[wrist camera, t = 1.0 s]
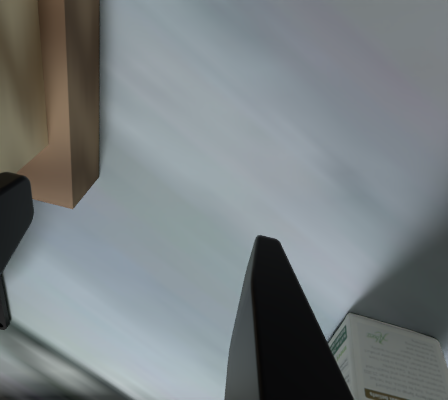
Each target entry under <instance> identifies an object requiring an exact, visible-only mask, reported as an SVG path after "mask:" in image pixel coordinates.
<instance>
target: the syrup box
mask: <svg viewBox="0 0 448 400" xmlns="http://www.w3.org/2000/svg"><path fill="white" fill-rule="evenodd" d="M328 345H329V347H330V349H331V351H332V353H333V356H334V358H335V360H336V362H337V364H338V366H339V368H340V370H341V373H342V375H343V377H344V379H345V381H346V383H347V385H348V387H349V389H350V392H351V394H352V396H353V398H354V400H448V368H447V365H446V361H445V358H444V355H443V352H442V349H441V346H440V343H439V341H438V340H436V339H434V338H432V337H429V336H426V335H423V334H420V333H417V332H414V331H411V330H408V329H405V328H401V327H398V326H395V325H391V324H388V323H384V322H381V321H377V320H374V319H370V318H367V317H364V316H360V315H356V314H353V313H348V314H347V316H346V317H345V320H344V321H343V323H342V324H341V326H340V327H339V329H338V330H337V331H336V333H335V334H334V336H333V337H332V339H331V340H330V342H329V343H328Z"/></svg>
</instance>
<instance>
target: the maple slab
mask: <svg viewBox="0 0 448 400" xmlns="http://www.w3.org/2000/svg"><path fill="white" fill-rule="evenodd" d="M47 145H48V132H47V119H46V106H45V92H44V79H43V66H42V53H41V39H40V26H39V13H38V0H0V173H2V172H11V173H17V172H18V171H19V170H20V169H21V168H22V167H23V166H25V165H26V164H27V163H28V162H29V161H30V160H31V159H33V158H34V157H35V156H36V155H37V154H38V153H39V152H41V151H42V150H43V149H44V148H45V147H46V146H47Z"/></svg>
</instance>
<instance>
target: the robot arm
mask: <svg viewBox="0 0 448 400" xmlns="http://www.w3.org/2000/svg"><path fill="white" fill-rule="evenodd" d="M33 214H34V209H33V200H32V191H31V183H30V180H29V179H28V178H27V177H26V176H23V175H19V174H15V173H11V172H2V173H0V329H1V330H5V329H6V328H7V327H8V325H9V324H10V322H9V316H8V311H7V306H6V300H5V295H4V290H3V284H2V279H1V273H2V272H3V270H4V268H5V267H6V265H7V263H8V261H9V260H10V258H11V256H12V255H13V253H14V251H15V249H16V248H17V246H18V244H19V243H20V241H21V239H22V237H23V236H24V234H25V232H26V231H27V229H28V227H29V225H30V224H31V221H32V219H33ZM225 400H354V398H353V396H352V394H351V392H350V389H349V387H348V385H347V383H346V381H345V379H344V377H343V375H342V373H341V370H340V368H339V366H338V364H337V362H336V360H335V358H334V356H333V353H332V351H331V349H330V347H329V345H328V343H327V341H326V339H325V337H324V334H323V332H322V330H321V328H320V326H319V324H318V322H317V320H316V318H315V315H314V313H313V311H312V309H311V307H310V305H309V303H308V301H307V298H306V296H305V294H304V292H303V290H302V288H301V286H300V284H299V282H298V279H297V277H296V275H295V273H294V271H293V269H292V267H291V265H290V262H289V260H288V258H287V256H286V254H285V252H284V250H283V248H282V246H281V243H280V242H279V241H278V240H277V239H274V238H270V237H266V236H262V235H258V236H257V237H256V239H255V242H254V245H253V249H252V252H251V256H250V259H249V263H248V266H247V270H246V274H245V278H244V283H243V287H242V292H241V296H240V301H239V306H238V310H237V315H236V320H235V324H234V329H233V333H232V338H231V343H230V349H229V357H228V366H227V377H226V389H225Z"/></svg>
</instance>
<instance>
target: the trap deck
mask: <svg viewBox="0 0 448 400" xmlns="http://www.w3.org/2000/svg"><path fill="white" fill-rule="evenodd" d="M38 13H39V26H40V39H41V53H42V66H43V79H44V92H45V106H46V119H47V132H48V145H47V146H46V147H45V148H44V149H43V150H42V151H41V152H39V153H38V154H37V155H36V156H35V157H34V158H33V159H31V160H30V161H29V162H28V163H27V164H26V165H25V166H23V167H22V168H21V169H20V170H19V171H18V172H17V173H15V174H19V175H23V176H26V177H27V178H28V179H29V180H30V183H31V191H32V199H35V200H39V201H43V202H47V203H51V204H55V205H59V206H63V207H66V208H70V209H73V208H74V207H75V206H76V205H77V204H78V202H79V201H80V200H81V199H82V197H83V196H84V195H85V194H86V192H87V191H88V190H89V189H90V188H91V186H92V185H93V184H94V183H95V181H96V180H97V179H98V178H99V0H38Z"/></svg>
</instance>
